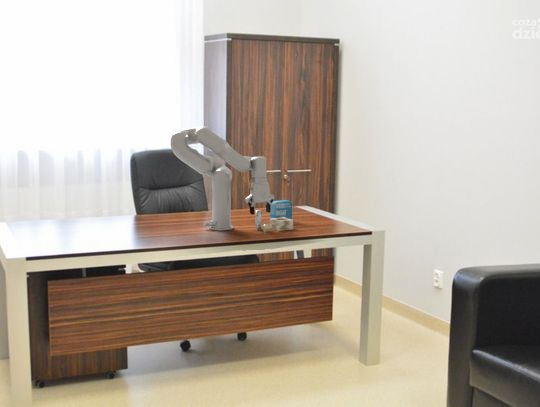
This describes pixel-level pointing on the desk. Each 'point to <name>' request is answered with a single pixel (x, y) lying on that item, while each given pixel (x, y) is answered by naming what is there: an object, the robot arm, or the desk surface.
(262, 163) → the robot arm
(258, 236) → the desk surface
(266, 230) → the short pin
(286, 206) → the data package
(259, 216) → the tall pin
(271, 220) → the pin block
